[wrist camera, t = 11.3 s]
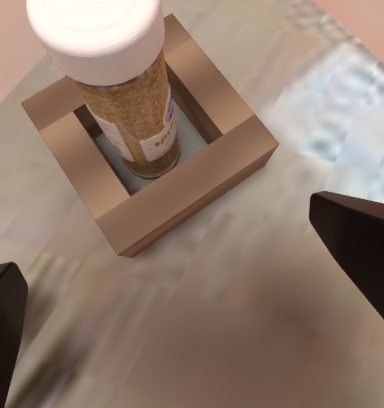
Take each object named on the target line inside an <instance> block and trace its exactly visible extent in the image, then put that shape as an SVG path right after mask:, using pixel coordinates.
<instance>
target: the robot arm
mask: <svg viewBox="0 0 384 408" xmlns="http://www.w3.org/2000/svg"><path fill="white" fill-rule="evenodd" d="M309 220H310V222H311V224H312V226H313V227H314V229H315V230H316V232H317V233H318V235H319V237H320V238H321V240H322V241H323V243H324V244H325V246H326V247H327V249H328V250H329V252H330V253H331V255H332V256H333V258H334V259H335V260H336V262H337V263H338V264H339V266H340V267H341V268H342V269H343V270H344V272H345V273H346V274H347V275H348V276H349V278H350V279H351V280H352V281H353V283H354V284H355V285H356V286H357V287H358V289H359V290H360V291H361V292H362V294H363V295H364V296H365V297H366V298H367V300H368V301H369V302H370V303H371V304H372V306H373V307H374V308H375V309H376V311H377V312H378V313H379V314H380V315H381V317H382V318H383V319H384V203H379V202H374V201H370V200H365V199H360V198H356V197H351V196H346V195H342V194H337V193H332V192H328V191H321V192H317V193H313V194H312V195H311V197H310V208H309ZM27 296H28V285H27V282H26V280H25V279H24V277H23V275H22V273H21V271H20V269H19V268H18V266H17V264H16V263H14V262H8V263H3V264H0V408H4V407H5V403H6V399H7V395H8V391H9V387H10V383H11V379H12V376H13V372H14V368H15V364H16V360H17V356H18V352H19V348H20V344H21V339H22V333H23V326H24V318H25V311H26V303H27Z"/></svg>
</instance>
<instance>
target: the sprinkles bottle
mask: <svg viewBox="0 0 384 408" xmlns="http://www.w3.org/2000/svg"><path fill="white" fill-rule="evenodd" d="M26 5H27V14H28V19H29V22H30V24H31V26H32V28H33V30H34V32H35V34H36V35H37V37H38V39H39V40H40V42H41V44H42V45H43V47H44V48H45V50H46V51H47V53H48V55H49V56H50V58H51V59H52V60H53V62H54V63H55V65H56V66H57V67H58V68H59V69H60V70H61V71H62V72H63V73H64V74H65V75H66V76H67V77H68V78H69V79H71V81H72V82H73V84H74V85H75V87H76V88H77V90H78V91H79V93H80V95H81V96H82V98H83V99H84V101H85V104H86V106H87V108H88V109H89V111H90V112H91V114H92V115H93V117H94V118H95V120H96V121H97V123H98V124H99V126H100V127H101V129H102V130H103V132H104V133H105V135H106V136H107V138H108V139H109V141H110V142H111V144H112V145H113V147H114V148H115V150H116V151H117V152H118V153H119V154H120V155H121V157H122V159H123V162H124V164H125V166H126V167H127V168H128V169H129V170H130V171H131V172H132V173H134V174H136V175H138V176H140V177H144V178H156V177H159V176H162V175H163V174H165V173H167V172H168V171H170V170H171V169H172V168H173V167H174V165H175V164H176V161H177V160H178V157H179V154H180V146H179V141H178V139H177V136H176V123H175V117H174V110H173V104H172V97H171V90H170V85H169V83H168V76H167V70H166V65H165V59H164V51H163V43H164V37H165V26H164V17H163V9H162V3H161V0H27V4H26Z"/></svg>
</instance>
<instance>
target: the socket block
mask: <svg viewBox="0 0 384 408" xmlns="http://www.w3.org/2000/svg"><path fill="white" fill-rule="evenodd" d="M164 26H165V37H164V43H163V51H164V59H165V65H166V70H167V76H168V83H169V85H170V90H171V96H172V98H173V99H174V100H175V102H176V103H177V104H178V106H179V107H180V108H181V109H182V111H183V112H184V113H185V115H186V116H187V117H188V119H189V120H190V121H191V122H192V124H193V125H194V126H195V128H196V129H197V130H198V132H199V133H200V134H201V136H202V137H203V138H204V139H205V141H206V142H207V143H208V146H206V147H205V148H203V149H202V150H200V151H199V152H197V153H196V154H194V155H193V156H191V157H190V158H188V159H187V160H185V161H183V162H182V163H180V164H179V165H177V166H176V167H174V168H173V169H171V170H170V171H168V172H167V173H165V174H164V175H162V176H161V177H159V178H158V179H156V180H155V181H153V182H152V183H150V184H149V185H147V186H146V187H144V188H143V189H141V190H140V191H138V192H137V193H135V194H134V195H132V194H131V193H130V191H129V190H128V188H127V187H126V185H125V184H124V182H123V181H122V179H121V178H120V176H119V175H118V173H117V172H116V170H115V169H114V168H113V166H112V165H111V163H110V162H109V160H108V159H107V157H106V156H105V154H104V153H103V151H102V150H101V148H100V147H99V145H98V144H97V142H96V141H95V139H94V137H96V136H97V135H99V134H100V133H102V132H103V130H102V129H101V127H100V126H99V124H98V123H97V121H96V120H95V118H94V117H93V115H92V114H91V112H90V111H89V109H88V108H87V106H86V104H85V101H84V99H83V98H82V96H81V95H80V93H79V91H78V90H77V88H76V87H75V85H74V84H73V82H72V81H71V79H69V78H68V77H67V76H65V77H64V78H62V79H60V80H58V81H57V82H55V83H53V84H52V85H50V86H48V87H47V88H45V89H43V90H42V91H40V92H38V93H37V94H35V95H33V96H32V97H30V98H28V99H26V100H25V101H23V102H21V105H22V106H23V108H24V109H25V111H26V112H27V114H28V116H29V117H30V119H31V120H32V122H33V124H34V125H35V127H36V128H37V130H38V131H39V133H40V135H41V136H42V138H43V139H44V141H45V142H46V144H47V146H48V147H49V149H50V150H51V152H52V153H53V155H54V157H55V158H56V160H57V161H58V163H59V164H60V166H61V168H62V169H63V171H64V172H65V174H66V175H67V177H68V179H69V180H70V182H71V183H72V185H73V187H74V188H75V190H76V191H77V193H78V194H79V196H80V198H81V199H82V201H83V202H84V204H85V205H86V207H87V209H88V210H89V212H90V213H91V215H92V216H93V218H94V220H95V221H96V223H97V224H98V226H99V227H100V229H101V231H102V232H103V234H104V235H105V237H106V238H107V240H108V242H109V243H110V245H111V246H112V248H113V249H114V251H115V253H116V254H117V255H119V256H125V257H131V258H132V257H133V256H135V255H136V254H138V253H139V252H140V251H142V250H143V249H145V248H146V247H148V246H149V245H151V244H152V243H153V242H155V241H156V240H158V239H159V238H161V237H162V236H164V235H165V234H166V233H168V232H169V231H171V230H172V229H174V228H175V227H177V226H178V225H179V224H181V223H182V222H184V221H185V220H187V219H188V218H190V217H191V216H192V215H194V214H195V213H197V212H198V211H200V210H201V209H203V208H204V207H205V206H207V205H208V204H210V203H211V202H213V201H214V200H216V199H217V198H218V197H220V196H221V195H223V194H224V193H226V192H227V191H229V190H230V189H231V188H233V187H234V186H236V185H237V184H239V183H240V182H242V181H243V180H244V179H246V178H247V177H249V176H250V175H252V174H253V173H255V172H256V171H257V170H259V169H260V168H262V167H263V166H265V164H266V163H267V161H268V160H269V158H270V157H271V155H272V154H273V152H274V151H275V149H276V148H277V146H278V145H279V143H278V141H277V140H276V139H275V138H274V137H273V135H272V134H271V133H270V132H269V131H268V129H267V128H266V127H265V126H264V124H263V123H262V122H261V121H260V120H259V118H258V117H257V116H256V115H255V114H254V112H253V111H252V110H251V109H250V107H249V106H248V105H247V104H246V103H245V101H244V100H243V99H242V98H241V97H240V95H239V94H238V93H237V92H236V90H235V89H234V88H233V87H232V86H231V84H230V83H229V82H228V81H227V80H226V78H225V77H224V76H223V75H222V73H221V72H220V71H219V70H218V69H217V67H216V66H215V65H214V64H213V63H212V61H211V60H210V59H209V58H208V56H207V55H206V54H205V53H204V52H203V50H202V49H201V48H200V47H199V46H198V44H197V43H196V42H195V41H194V39H193V38H192V37H191V36H190V35H189V33H188V32H187V31H186V30H185V29H184V27H183V26H182V25H181V24H180V22H179V21H178V20H177V19H176V18H175V16H174V15H173V14H170V15H168V16H166V17H165V18H164Z"/></svg>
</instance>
